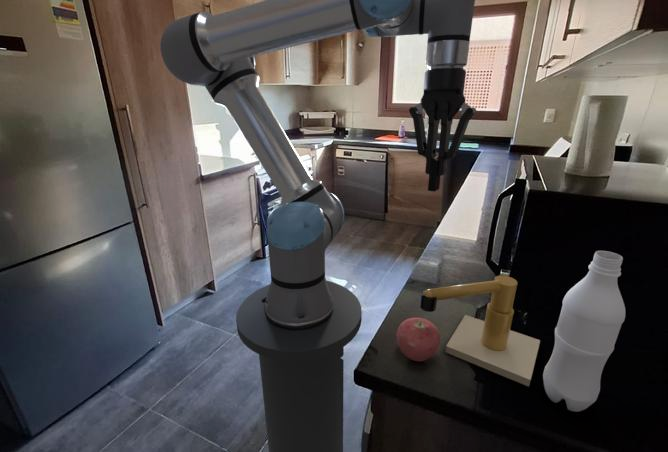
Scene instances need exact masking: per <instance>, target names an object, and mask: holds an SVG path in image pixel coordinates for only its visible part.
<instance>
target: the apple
mask: <svg viewBox="0 0 668 452" xmlns="http://www.w3.org/2000/svg"><path fill="white" fill-rule="evenodd" d="M396 342H397V345H398V347H399V349H400V351H401V353H402V354H403V355H404V356H405V357H406V358H408V359H409V360H411V361H414V362H424V361H427V360H429V359H430V358H432V356H434V355H435V354H436V352H437V351H438V349H439V348H440V342H441V335H440V332H439V330H438V328H437V327H436V325H435V324H434V323H433V322H431V321H430V320H428V319H426V318H423V317H409V318H407V319H404V321H402V322H401V323H400V325H399V326H398V328H397V331H396Z"/></svg>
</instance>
